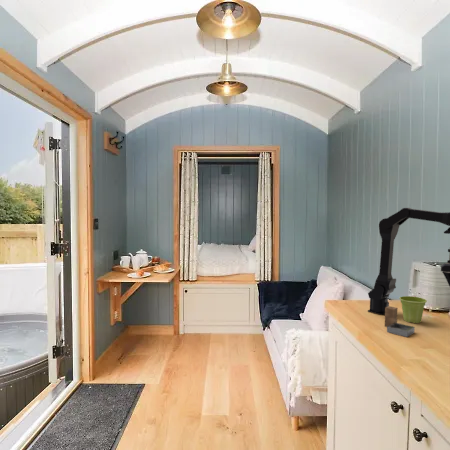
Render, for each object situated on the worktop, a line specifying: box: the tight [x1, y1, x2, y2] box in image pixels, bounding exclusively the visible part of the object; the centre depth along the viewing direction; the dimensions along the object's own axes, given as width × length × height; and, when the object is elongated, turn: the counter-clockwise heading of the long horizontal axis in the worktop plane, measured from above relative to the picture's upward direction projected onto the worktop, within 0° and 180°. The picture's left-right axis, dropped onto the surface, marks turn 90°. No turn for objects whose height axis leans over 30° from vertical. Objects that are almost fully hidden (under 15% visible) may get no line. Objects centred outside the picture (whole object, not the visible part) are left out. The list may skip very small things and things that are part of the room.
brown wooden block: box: [384, 305, 399, 328], centre depth 133 cm, size 3×3×7 cm
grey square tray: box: [386, 322, 415, 338], centre depth 126 cm, size 7×7×2 cm
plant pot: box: [399, 295, 428, 324], centre depth 139 cm, size 9×9×9 cm
